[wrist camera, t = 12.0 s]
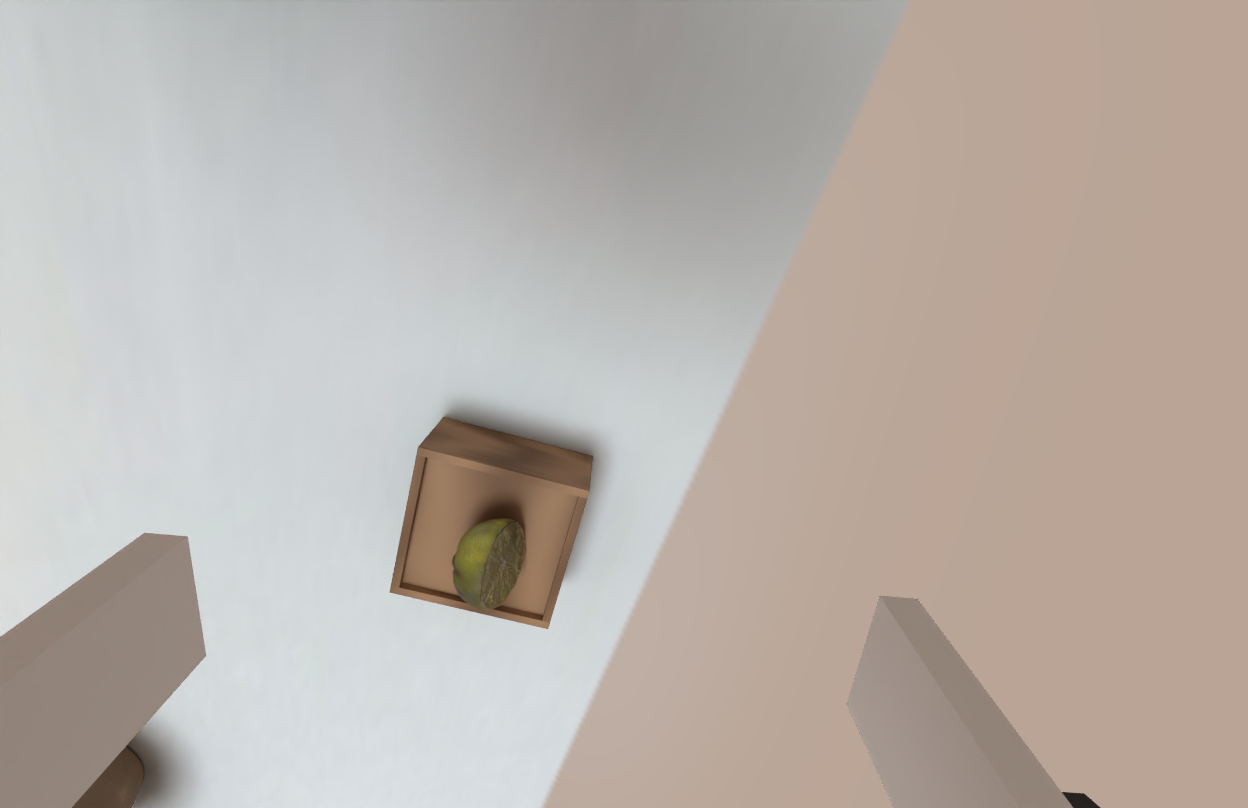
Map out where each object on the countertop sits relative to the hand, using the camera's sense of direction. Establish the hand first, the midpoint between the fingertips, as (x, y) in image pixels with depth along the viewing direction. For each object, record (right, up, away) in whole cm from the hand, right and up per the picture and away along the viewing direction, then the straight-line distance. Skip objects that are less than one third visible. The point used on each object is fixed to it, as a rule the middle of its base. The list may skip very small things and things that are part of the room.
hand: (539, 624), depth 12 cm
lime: (-6, -4, +25) cm, 26 cm away
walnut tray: (-7, -2, +29) cm, 30 cm away
